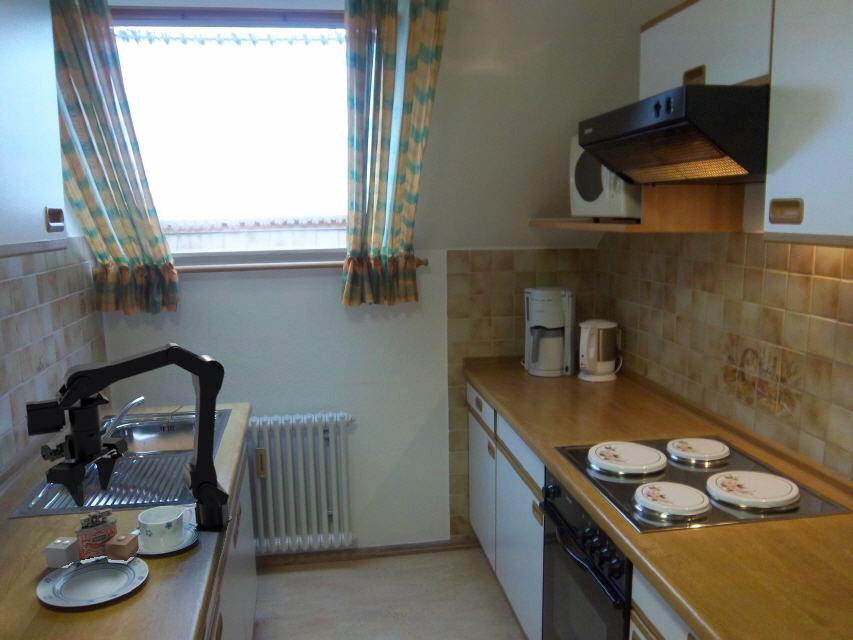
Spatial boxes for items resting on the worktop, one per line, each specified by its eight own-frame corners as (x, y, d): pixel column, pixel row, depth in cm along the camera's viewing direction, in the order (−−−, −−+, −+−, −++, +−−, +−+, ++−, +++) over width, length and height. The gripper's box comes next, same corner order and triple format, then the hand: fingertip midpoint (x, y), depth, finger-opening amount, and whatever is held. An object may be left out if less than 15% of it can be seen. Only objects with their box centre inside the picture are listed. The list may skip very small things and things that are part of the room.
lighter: (81, 566, 140) (75, 521, 139) (77, 559, 143) (71, 515, 141) (122, 552, 146) (117, 509, 144) (117, 546, 148) (112, 504, 146)
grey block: (81, 557, 144) (78, 537, 143) (67, 569, 140) (64, 548, 139) (62, 556, 145) (59, 535, 144) (47, 567, 140) (44, 546, 140)
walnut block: (139, 553, 145) (137, 533, 144) (127, 565, 141) (125, 544, 140) (120, 552, 146) (117, 532, 145) (107, 563, 142) (105, 542, 141)
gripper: (79, 410, 149) (86, 477, 152) (16, 441, 131) (25, 516, 134) (126, 413, 148) (132, 480, 150) (68, 444, 129) (77, 520, 132)
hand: (92, 498), depth 142 cm, fingers open, 8 cm apart
